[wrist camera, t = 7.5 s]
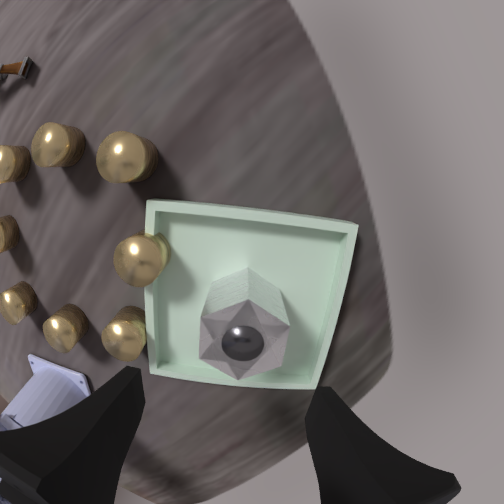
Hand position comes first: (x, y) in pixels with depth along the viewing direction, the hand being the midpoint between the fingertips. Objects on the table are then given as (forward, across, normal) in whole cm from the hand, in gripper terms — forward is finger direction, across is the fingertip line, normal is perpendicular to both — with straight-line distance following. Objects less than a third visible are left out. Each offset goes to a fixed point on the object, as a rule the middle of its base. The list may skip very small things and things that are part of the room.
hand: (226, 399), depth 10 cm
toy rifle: (+10, +24, -18) cm, 32 cm away
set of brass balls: (+9, +14, -3) cm, 17 cm away
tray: (+9, -1, 0) cm, 9 cm away
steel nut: (+9, -1, 0) cm, 9 cm away
